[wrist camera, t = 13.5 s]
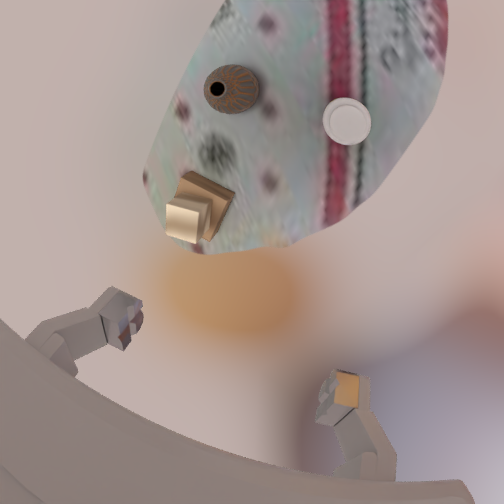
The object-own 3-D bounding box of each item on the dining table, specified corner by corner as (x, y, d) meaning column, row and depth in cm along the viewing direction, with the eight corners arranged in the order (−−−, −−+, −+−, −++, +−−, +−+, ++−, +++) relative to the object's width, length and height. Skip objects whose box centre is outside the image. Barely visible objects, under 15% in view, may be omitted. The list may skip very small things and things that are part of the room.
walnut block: (192, 170, 45) (181, 177, 42) (235, 192, 45) (227, 201, 42) (178, 209, 50) (167, 219, 47) (218, 230, 50) (209, 241, 47)
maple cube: (182, 191, 43) (166, 203, 39) (212, 199, 43) (198, 212, 38) (180, 220, 46) (165, 234, 42) (209, 228, 45) (195, 243, 41)
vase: (208, 88, 37) (179, 89, 30) (242, 57, 34) (219, 49, 27) (237, 121, 39) (214, 128, 32) (273, 91, 36) (258, 90, 28)
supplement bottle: (343, 144, 37) (346, 159, 28) (315, 115, 36) (310, 120, 27) (372, 120, 34) (385, 127, 25) (344, 89, 33) (348, 87, 24)
